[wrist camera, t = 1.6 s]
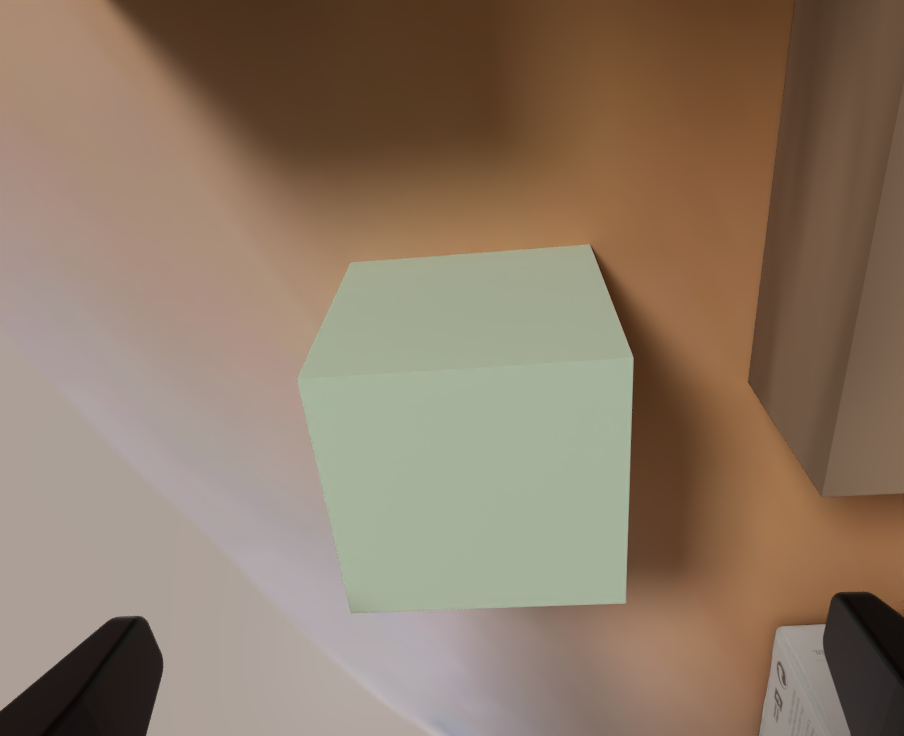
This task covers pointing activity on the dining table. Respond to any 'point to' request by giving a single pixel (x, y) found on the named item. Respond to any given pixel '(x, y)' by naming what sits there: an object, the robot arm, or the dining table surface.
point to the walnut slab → (838, 251)
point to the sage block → (474, 431)
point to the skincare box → (801, 687)
